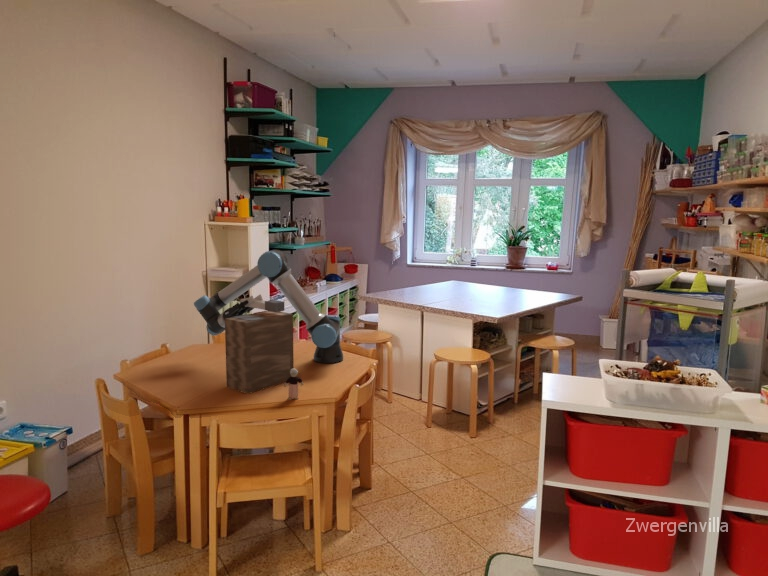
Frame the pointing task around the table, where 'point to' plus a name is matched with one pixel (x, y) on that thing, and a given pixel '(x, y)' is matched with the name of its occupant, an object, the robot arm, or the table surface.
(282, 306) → the bar
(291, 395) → the grandmother figurine
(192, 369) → the table surface
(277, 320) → the walnut shelf
